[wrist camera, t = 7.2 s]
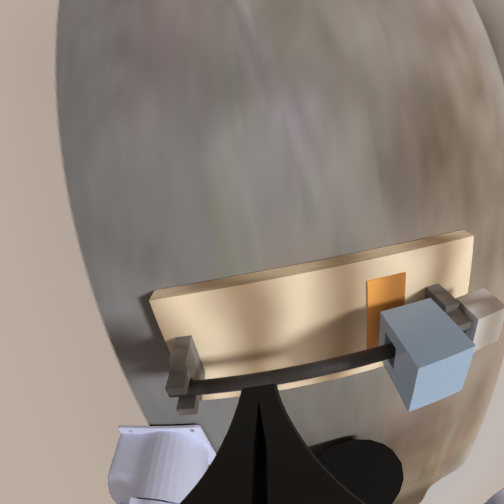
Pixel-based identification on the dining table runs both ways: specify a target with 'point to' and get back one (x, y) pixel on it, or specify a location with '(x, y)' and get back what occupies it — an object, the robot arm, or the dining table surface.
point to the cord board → (312, 317)
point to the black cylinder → (365, 470)
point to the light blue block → (425, 352)
